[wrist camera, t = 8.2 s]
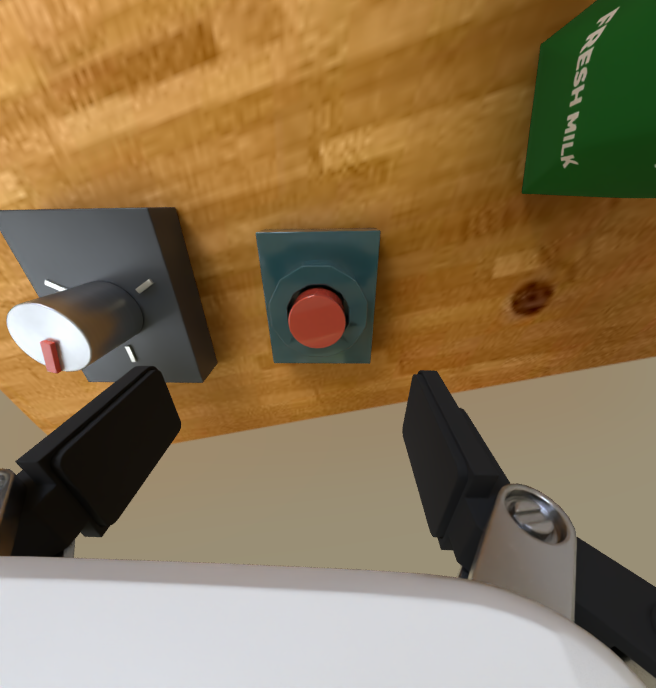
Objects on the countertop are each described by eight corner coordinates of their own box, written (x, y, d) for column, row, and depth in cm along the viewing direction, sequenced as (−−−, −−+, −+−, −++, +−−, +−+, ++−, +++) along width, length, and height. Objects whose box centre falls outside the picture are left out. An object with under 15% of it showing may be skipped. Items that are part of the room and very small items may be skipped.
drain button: (290, 287, 16) (285, 296, 15) (345, 287, 16) (346, 295, 15) (294, 336, 18) (290, 348, 17) (344, 336, 18) (345, 349, 16)
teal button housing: (263, 229, 18) (246, 235, 15) (376, 227, 18) (385, 233, 14) (279, 350, 23) (268, 376, 19) (367, 350, 23) (373, 376, 19)
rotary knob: (74, 271, 17) (-13, 293, 13) (142, 292, 17) (80, 320, 13) (83, 327, 19) (11, 362, 15) (144, 344, 20) (91, 383, 15)
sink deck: (38, 209, 18) (-16, 210, 15) (175, 207, 18) (145, 207, 15) (115, 363, 24) (86, 383, 21) (217, 363, 24) (202, 384, 21)
